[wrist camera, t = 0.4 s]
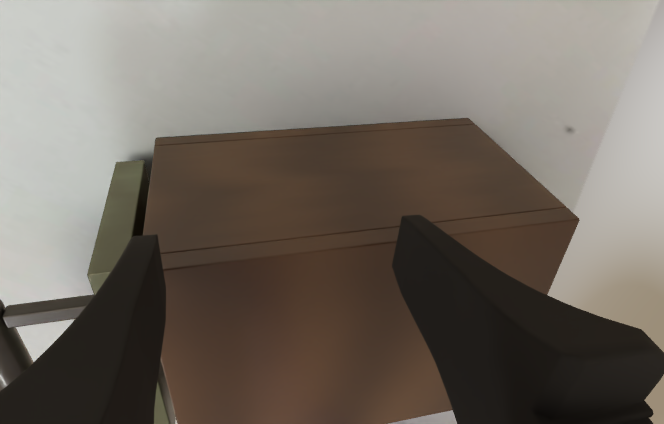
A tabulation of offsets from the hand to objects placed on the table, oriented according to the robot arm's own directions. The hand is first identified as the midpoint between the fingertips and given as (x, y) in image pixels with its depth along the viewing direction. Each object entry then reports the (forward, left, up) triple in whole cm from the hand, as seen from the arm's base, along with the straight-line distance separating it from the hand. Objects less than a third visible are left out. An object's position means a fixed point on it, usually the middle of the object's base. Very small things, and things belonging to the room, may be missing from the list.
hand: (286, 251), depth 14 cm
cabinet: (-7, -3, -10) cm, 12 cm away
